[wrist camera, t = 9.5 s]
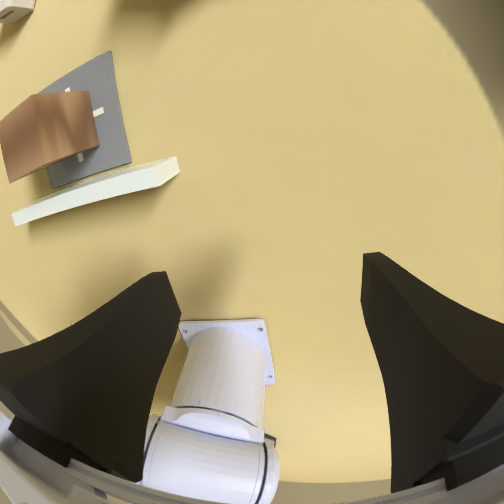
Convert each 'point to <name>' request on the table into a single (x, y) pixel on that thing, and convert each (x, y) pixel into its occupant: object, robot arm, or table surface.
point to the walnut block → (46, 131)
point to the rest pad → (106, 120)
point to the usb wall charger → (15, 9)
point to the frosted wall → (100, 189)
